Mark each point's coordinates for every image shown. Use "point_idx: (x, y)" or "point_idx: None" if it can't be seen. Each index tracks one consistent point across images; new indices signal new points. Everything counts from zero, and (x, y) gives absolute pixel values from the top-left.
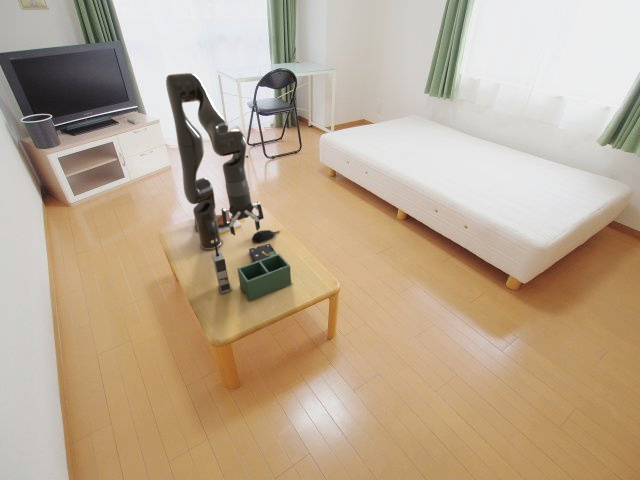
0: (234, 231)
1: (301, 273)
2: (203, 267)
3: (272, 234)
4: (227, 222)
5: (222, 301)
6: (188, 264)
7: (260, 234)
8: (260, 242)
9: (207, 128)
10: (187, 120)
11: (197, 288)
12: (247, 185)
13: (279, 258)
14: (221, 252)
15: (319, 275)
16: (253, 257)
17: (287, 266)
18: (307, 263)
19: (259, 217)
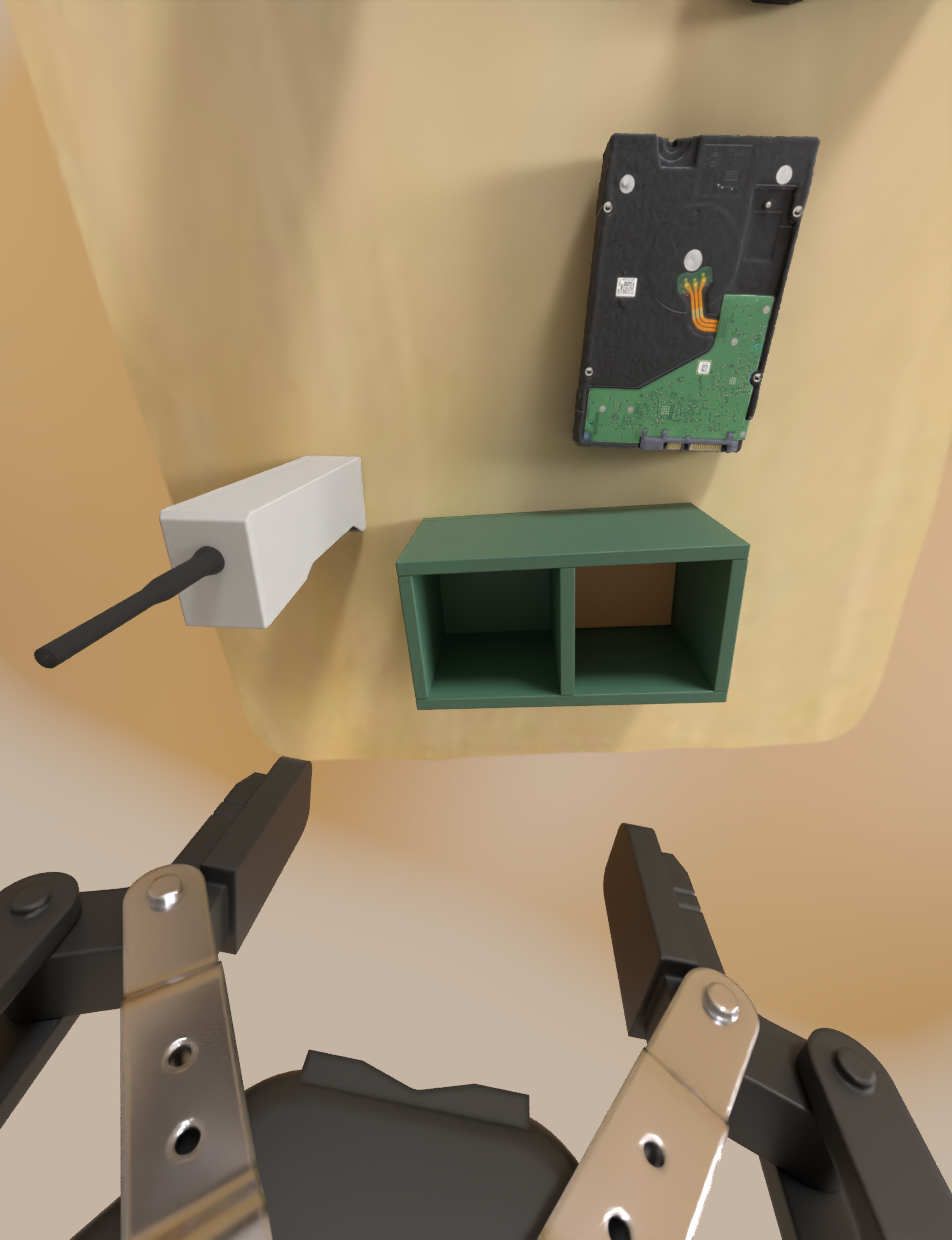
0: (276, 876)
1: (783, 579)
2: (221, 176)
3: None
4: (73, 1001)
5: (313, 579)
6: (101, 55)
7: None
8: (770, 3)
9: None
10: None
11: (186, 410)
12: None
13: (721, 565)
14: (246, 530)
15: (854, 640)
16: (591, 299)
17: (707, 699)
18: (884, 512)
19: (755, 1133)
